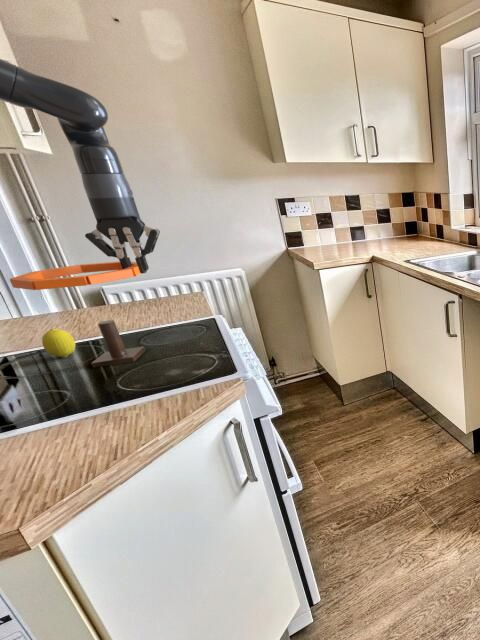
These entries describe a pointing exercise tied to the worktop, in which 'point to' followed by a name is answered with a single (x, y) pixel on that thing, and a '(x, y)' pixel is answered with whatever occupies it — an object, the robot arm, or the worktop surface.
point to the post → (115, 347)
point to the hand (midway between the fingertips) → (137, 273)
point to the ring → (42, 281)
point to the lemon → (58, 343)
